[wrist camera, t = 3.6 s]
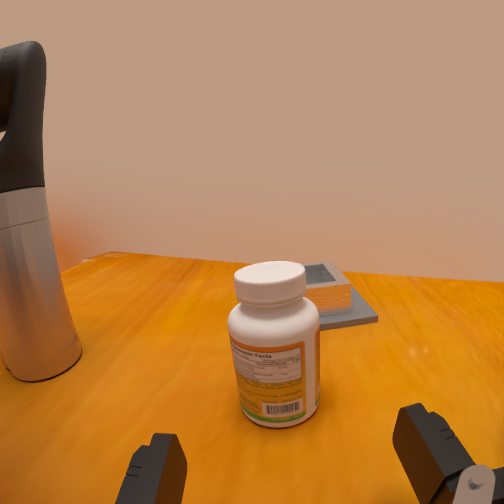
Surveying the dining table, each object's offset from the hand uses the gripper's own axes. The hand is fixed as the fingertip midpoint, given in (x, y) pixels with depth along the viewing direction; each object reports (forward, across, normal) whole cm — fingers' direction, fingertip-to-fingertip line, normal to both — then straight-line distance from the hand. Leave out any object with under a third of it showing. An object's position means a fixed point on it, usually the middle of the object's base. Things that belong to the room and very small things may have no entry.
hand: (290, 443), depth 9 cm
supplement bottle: (+9, 0, +6) cm, 11 cm away
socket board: (+25, -4, +7) cm, 26 cm away
